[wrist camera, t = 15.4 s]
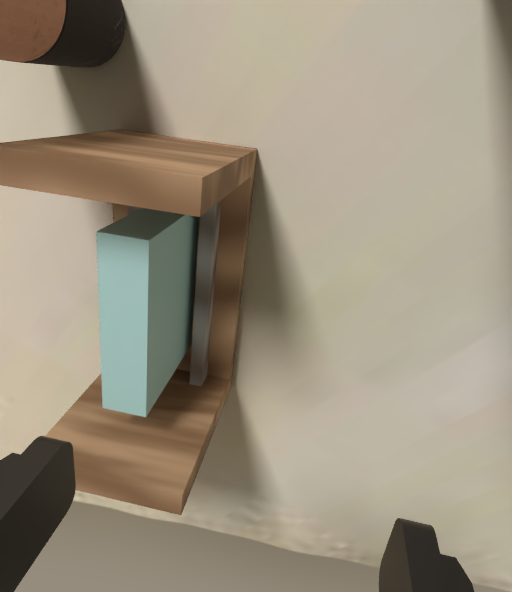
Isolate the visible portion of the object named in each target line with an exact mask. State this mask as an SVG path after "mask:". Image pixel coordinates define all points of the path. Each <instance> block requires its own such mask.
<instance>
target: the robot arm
mask: <svg viewBox="0 0 512 592" xmlns="http://www.w3.org/2000/svg"><path fill="white" fill-rule="evenodd" d="M75 489H76V482H75V468H74V455H73V446H72V444H71V443H70V442H67V441H62V440H58V439H54V438H49V437H45V436H40V437H38V438H36V439H35V440H34V441H33V442H32V443H31V444H30V445H29V446H28V448H27V449H26V450H25V451H24V452H23V453H22V454H21V455H20V454H15V453H12V454H10V455H8V456H7V457H5V458H3V459H2V460H0V592H14V591H15V589H16V588H17V586H18V585H19V583H20V582H21V580H22V578H23V577H24V576H25V574H26V573H27V571H28V570H29V568H30V567H31V565H32V564H33V562H34V561H35V559H36V558H37V556H38V555H39V553H40V552H41V550H42V549H43V547H44V546H45V544H46V543H47V542H48V540H49V538H50V537H51V536H52V534H53V533H54V531H55V530H56V528H57V527H58V525H59V524H60V522H61V521H62V519H63V518H64V516H65V515H66V513H67V511H68V509H69V508H70V506H71V503H72V501H73V498H74V494H75ZM379 592H474V589H473V586H472V583H471V581H470V580H469V578H468V576H467V575H466V573H465V572H464V570H463V568H462V567H461V565H460V564H459V562H458V561H457V559H456V558H455V557H450V556H446V555H442V554H440V552H439V547H438V543H437V538H436V534H435V531H434V528H433V527H432V526H431V525H427V524H422V523H418V522H414V521H409V520H405V519H400V518H398V519H397V520H396V521H395V524H394V527H393V530H392V533H391V535H390V538H389V541H388V544H387V547H386V550H385V552H384V555H383V558H382V561H381V566H380V574H379Z"/></svg>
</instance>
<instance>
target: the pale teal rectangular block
mask: <svg viewBox="0 0 512 592" xmlns="http://www.w3.org/2000/svg"><path fill="white" fill-rule="evenodd" d="M198 222H199V217H197V216H190V215H184V214H178V213H172V212H165V211H159V210H153V209H147V208H141V209H139V210H137V211H136V212H134V213H132V214H130V215H128V216H126V217H124V218H122V219H120V220H118V221H116V222H114V223H112V224H110V225H109V226H107V227H105V228H103V229H101V230H99V231H97V260H98V289H99V318H100V347H101V377H102V406H103V408H105V409H110V410H114V411H119V412H124V413H128V414H133V415H138V416H142V417H147V415H148V413H149V412H150V410H151V409H152V407H153V405H154V404H155V402H156V401H157V399H158V397H159V396H160V394H161V393H162V391H163V389H164V388H165V386H166V384H167V383H168V381H169V380H170V378H171V376H172V375H173V373H174V372H175V370H176V368H177V367H178V365H179V364H180V362H181V360H182V359H183V357H184V356H185V354H186V352H187V351H188V349H189V348H190V346H191V332H192V316H193V300H194V285H195V269H196V253H197V237H198Z"/></svg>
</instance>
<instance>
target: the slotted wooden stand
mask: <svg viewBox="0 0 512 592" xmlns="http://www.w3.org/2000/svg"><path fill="white" fill-rule="evenodd" d="M256 155H257V149H254V148H247V147H239V146H232V145H225V144H218V143H211V142H204V141H197V140H190V139H182V138H175V137H168V136H161V135H154V134H147V133H140V132H132V131H125V130H113V131H104V132H95V133H86V134H77V135H68V136H59V137H50V138H41V139H32V140H23V141H14V142H5V143H0V185H3V186H9V187H15V188H22V189H28V190H34V191H40V192H47V193H53V194H59V195H65V196H72V197H78V198H84V199H90V200H97V201H103V202H109V203H113V223H114V222H116V221H118V220H120V219H122V218H124V217H126V216H128V215H130V214H132V213H134V212H136V211H137V210H139V209H141V208H147V209H153V210H159V211H165V212H172V213H178V214H184V215H190V216H197V217H199V222H198V237H197V253H196V269H195V285H194V300H193V316H192V332H191V346H190V348H189V349H188V351H187V352H186V354H185V356H184V357H183V359H182V360H181V362H180V364H179V365H178V367H177V368H176V370H175V372H174V373H173V375H172V376H171V378H170V380H169V381H168V383H167V384H166V386H165V388H164V389H163V391H162V393H161V394H160V396H159V397H158V399H157V401H156V402H155V404H154V405H153V407H152V409H151V410H150V412H149V413H148V415H147V417H142V416H138V415H133V414H128V413H124V412H119V411H114V410H110V409H105V408H103V406H102V377H101V374H100V375H99V376H98V378H97V379H96V380H95V381H94V382H93V383H92V384H91V385H90V386H89V388H88V389H87V390H86V391H85V392H84V393H83V394H82V395H81V397H80V398H79V399H78V400H77V401H76V402H75V403H74V404H73V406H72V407H71V408H70V409H69V410H68V411H67V412H66V413H65V414H64V416H63V417H62V418H61V419H60V420H59V421H58V422H57V423H56V425H55V426H54V427H53V428H52V429H51V430H50V431H49V432H48V434H47V435H46V436H45V437H49V438H54V439H58V440H62V441H67V442H70V443H71V444H72V446H73V455H74V468H75V482H76V489H75V490H78V491H82V492H86V493H91V494H95V495H99V496H103V497H107V498H111V499H116V500H120V501H124V502H128V503H132V504H137V505H141V506H145V507H149V508H153V509H157V510H162V511H166V512H170V513H174V514H178V515H181V514H182V512H183V509H184V506H185V504H186V501H187V499H188V496H189V494H190V491H191V488H192V486H193V483H194V481H195V478H196V476H197V473H198V470H199V468H200V465H201V463H202V460H203V457H204V455H205V452H206V450H207V447H208V445H209V442H210V439H211V437H212V434H213V432H214V429H215V427H216V424H217V421H218V419H219V416H220V414H221V411H222V409H223V406H224V403H225V401H226V398H227V396H228V393H229V391H230V388H231V381H232V372H233V363H234V354H235V345H236V336H237V327H238V318H239V309H240V300H241V291H242V282H243V273H244V264H245V255H246V245H247V236H248V227H249V218H250V209H251V200H252V191H253V182H254V173H255V164H256Z"/></svg>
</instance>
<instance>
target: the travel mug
mask: <svg viewBox="0 0 512 592" xmlns="http://www.w3.org/2000/svg"><path fill="white" fill-rule="evenodd" d="M123 33H124V12H123V7H122V3H121V0H0V60H6V61H13V62H22V63H34V64H46V65H58V66H70V67H95V66H98V65H101V64H103V63H105V62H106V61H108V60H109V59H110V58H111V57H112V56H113V55H114V54H115V52H116V51H117V49H118V47H119V45H120V43H121V40H122V37H123Z"/></svg>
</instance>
